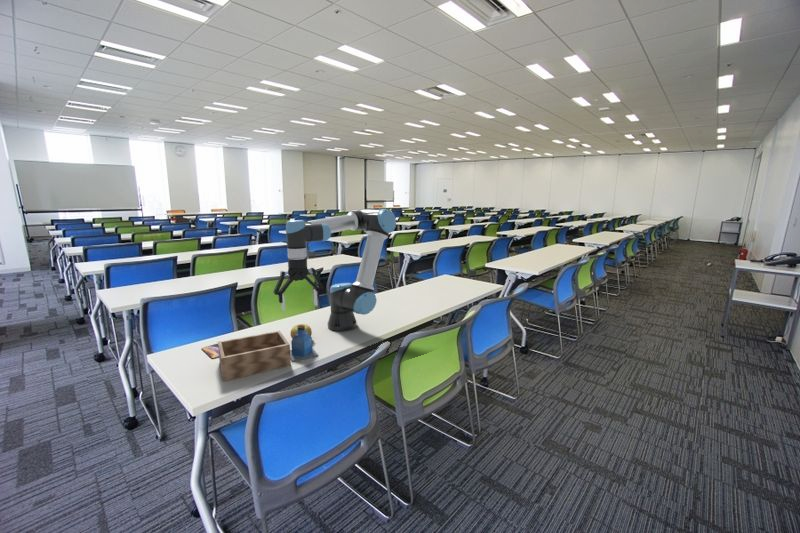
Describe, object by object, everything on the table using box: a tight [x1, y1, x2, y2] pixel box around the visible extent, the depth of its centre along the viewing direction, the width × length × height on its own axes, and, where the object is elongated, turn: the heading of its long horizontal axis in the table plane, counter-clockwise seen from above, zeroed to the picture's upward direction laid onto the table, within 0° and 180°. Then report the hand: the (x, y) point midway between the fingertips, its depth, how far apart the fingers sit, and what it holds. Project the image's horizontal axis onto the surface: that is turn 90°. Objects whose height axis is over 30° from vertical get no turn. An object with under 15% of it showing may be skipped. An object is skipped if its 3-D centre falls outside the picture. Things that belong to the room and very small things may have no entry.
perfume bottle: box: [290, 325, 313, 357], centre depth 147 cm, size 6×6×12 cm
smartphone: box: [200, 343, 219, 360], centre depth 150 cm, size 8×1×15 cm
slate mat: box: [290, 347, 319, 363], centre depth 148 cm, size 11×11×1 cm
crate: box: [217, 330, 292, 382], centre depth 138 cm, size 24×17×9 cm
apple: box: [290, 323, 313, 340], centre depth 162 cm, size 10×10×8 cm
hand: (300, 307), depth 145 cm, fingers open, 13 cm apart
